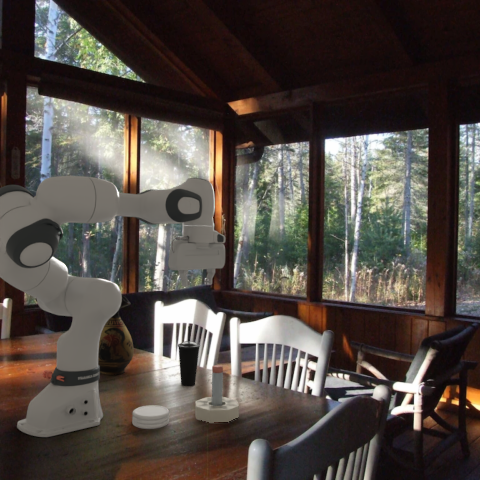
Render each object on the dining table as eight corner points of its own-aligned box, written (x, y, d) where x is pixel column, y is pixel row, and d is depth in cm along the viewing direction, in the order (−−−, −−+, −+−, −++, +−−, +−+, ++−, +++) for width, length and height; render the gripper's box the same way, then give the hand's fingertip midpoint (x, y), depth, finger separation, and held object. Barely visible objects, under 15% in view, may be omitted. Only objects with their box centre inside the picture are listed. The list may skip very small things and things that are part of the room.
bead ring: (219, 426, 142) (219, 413, 142) (186, 416, 150) (187, 403, 150) (246, 414, 152) (246, 402, 152) (214, 406, 159) (214, 394, 159)
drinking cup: (172, 385, 180) (173, 326, 180) (185, 380, 187) (186, 323, 187) (191, 388, 177) (192, 329, 177) (203, 383, 184) (204, 325, 184)
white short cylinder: (153, 414, 151) (153, 402, 151) (176, 423, 145) (177, 410, 145) (124, 423, 144) (124, 410, 144) (148, 432, 137) (148, 419, 137)
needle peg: (219, 417, 149) (220, 368, 149) (209, 416, 150) (210, 367, 150) (223, 414, 152) (224, 365, 152) (213, 413, 153) (214, 364, 153)
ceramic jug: (138, 367, 203) (140, 290, 203) (125, 378, 188) (127, 294, 188) (95, 365, 205) (97, 288, 205) (79, 376, 190) (81, 292, 190)
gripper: (180, 236, 139) (179, 288, 139) (229, 237, 155) (228, 284, 155) (163, 235, 143) (162, 286, 143) (212, 236, 159) (211, 282, 159)
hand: (197, 285), depth 149 cm, fingers open, 8 cm apart
